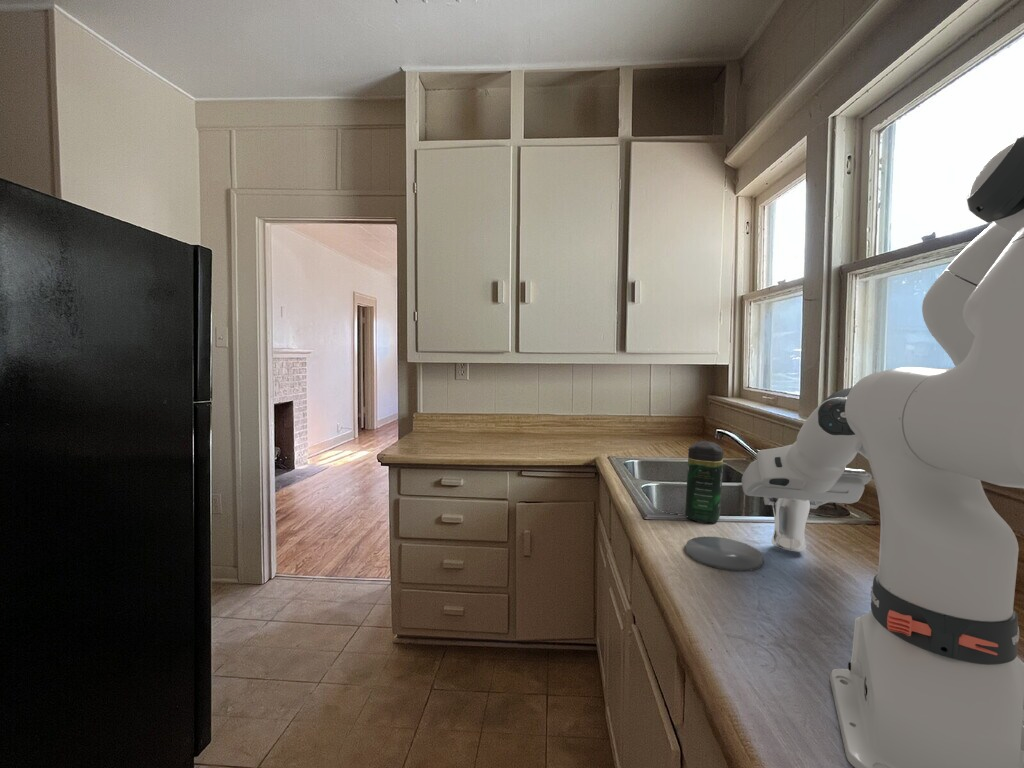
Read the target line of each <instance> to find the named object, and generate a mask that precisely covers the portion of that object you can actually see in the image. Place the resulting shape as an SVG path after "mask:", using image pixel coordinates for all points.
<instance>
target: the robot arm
mask: <svg viewBox="0 0 1024 768" xmlns="http://www.w3.org/2000/svg"><path fill="white" fill-rule="evenodd" d="M965 201H966V204H967V209H968V210H969V212H971V213H972V215H974V216H976V217H978V218H979V219H980V220H982V221H985V222H986V223H987V224H989V225H988V226H987V228H985V229H984V230H983V231H981V232H980V233H979V234H978V235H977V236H976V237H974V238H973V240H972V241H970V243H968V245H966V246H965V248H963V250H962V251H961V252H960V253H959V254H958V255H956V257H955V258H954V259H953V260H952V261H951V262H950V263H949V265H947V267H946V268H945V269H944V270H943V271H942V273H940V275H939V276H938V277H937V278H936V280H935V281H934V282H933V283H932V285H931V286H930V288H929V289H928V291H927V293H926V294H925V296H924V298H923V300H922V306H921V312H922V318H923V321H924V323H925V326H926V328H927V329H928V331H929V333H930V334H931V336H932V337H933V338H934V339H935V341H936V342H937V343H938V344H939V345H940V347H941V348H942V349H943V350H944V351H945V353H946V354H947V355H948V356H949V358H950V359H951V361H952V363H953V364H954V367H953V368H951V367H949V368H948V367H947V368H946V367H929V366H926V367H925V366H903V367H896V368H891V369H885V370H882V371H879V372H877V371H876V372H873V373H870V374H869V375H866V376H864V377H863V378H861V379H860V380H858V381H857V382H856V383H855V384H854V385H853V387H849V388H843V389H840V390H837V391H836V392H834V393H832V394H831V395H829V396H828V397H827V398H825V399H824V400H822V402H821V403H820V404H819V405H818V406H816V408H814V410H813V411H812V412H811V413H810V415H809V416H808V417H807V418H806V420H805V422H803V424H802V426H801V428H800V429H799V431H798V433H797V436H796V440H795V442H793V443H792V444H787V445H785V446H781V447H780V446H779V447H774V448H767V449H760V450H758V451H757V453H756V459H755V460H753V461H751V462H750V463H749V465H748V466H747V467H746V469H745V471H744V472H743V474H742V477H741V486H742V488H741V489H742V491H743V493H744V494H745V495H746V496H749V497H761V498H762V497H763V502H764V505H765V506H773V504H774V503H775V500H774V498H785V499H797V500H810V501H811V505H810V509H812V510H813V509H814V510H816V509H818V508H819V507H820V506H822V505H825V504H828V503H837V504H849V505H850V504H854V503H857V502H859V500H861V497H862V495H863V494H864V492H865V491H864V490H865V486H866V485H867V484H868V483H870V481H871V480H872V478H873V482H874V484H875V489H876V493H877V499H878V505H879V513H880V533H879V536H880V537H879V553H878V555H879V558H878V573H877V574H875V576H874V577H873V578H872V580H873V581H872V585H871V588H870V597H871V599H870V609H871V610H869V612H866V613H865V614H863V615H859V616H858V617H856V618H855V619H854V628H853V639H852V650H851V660H849V662H848V663H847V668H834V669H832V670H831V671H830V677H829V680H830V685H831V686H830V687H831V690H832V696H833V700H834V705H835V709H836V714H837V719H838V724H839V728H840V734H841V738H842V742H843V748H844V753H845V756H846V758H847V759H846V760H847V761H848V762H849V763H850V764H851V765H852V766H853V767H854V768H1024V662H1023V660H1021V658H1019V657H1018V642H1019V639H1020V627H1019V616H1018V613H1017V612H1016V611H1015V609H1014V604H1015V603H1014V602H1015V590H1016V581H1017V571H1018V559H1019V552H1020V551H1019V543H1018V540H1017V537H1016V535H1015V533H1014V531H1013V529H1012V528H1011V526H1010V525H1009V524H1008V523H1007V522H1006V520H1005V519H1003V517H1001V515H1000V514H999V513H998V512H997V511H996V510H995V509H994V507H993V505H992V504H991V502H990V501H989V499H988V497H987V495H986V493H985V489H984V487H983V484H982V482H986V483H989V484H991V485H996V486H999V487H1007V488H1016V489H1024V135H1021V136H1019V137H1016V138H1014V139H1012V141H1011V142H1009V144H1007V145H1005V146H1004V147H1002V148H1000V149H999V150H997V151H996V152H995V153H994V154H993V155H992V156H990V157H989V158H988V159H987V160H986V161H985V162H984V163H983V164H982V166H981V167H980V168H979V169H978V171H977V173H976V174H975V176H974V178H973V179H972V181H971V184H970V188H969V193H968V194H967V195H966V198H965ZM858 453H859V454H860V455H861V456H862V457H864V458H865V459H866V460H868V463H869V467H870V470H871V472H867V471H866V470H865V469H858V468H850V467H847V465H848V464H850V463H851V462H852V461H853V460H854V459H855V457H856V456H857V454H858ZM981 481H982V482H981Z"/></svg>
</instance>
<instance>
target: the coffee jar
mask: <svg viewBox="0 0 1024 768" xmlns="http://www.w3.org/2000/svg"><path fill="white" fill-rule="evenodd" d="M687 451H688V453H687V454H688V455H687V471H686V472H687V475H686V493H685V494H686V497H685V507H684V508H685V511H684V512H685V517H686V516H688V517H686V518H687V519H691V520H693V521H695V522H697V523H702V524H703V523H704V524H705V523H712V524H713V523H717V522H718V520H719V519H720V518H721V517H720V516H721V504H722V503H721V501H722V500H721V499H722V487H723V486H722V485H723V471H724V469H723V468H724V465H723V464H724V449H723V446H721V445H719V444H717V442H714V441H708V440H699V441H697V442H694V443H692V444H691V445H690V446H689V447H688V449H687Z"/></svg>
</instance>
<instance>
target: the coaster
mask: <svg viewBox="0 0 1024 768" xmlns="http://www.w3.org/2000/svg"><path fill="white" fill-rule="evenodd" d="M685 553H686V554H687V556H689V557H690V558H691V559H692V560H694V561H696V562H698V563H700V564H702V565H705V566H708V567H711V568H714V569H719V570H724V571H731V572H749V571H755V570H758V569H760V567H762V565H763V561H764V559H763V554H762V552H760V551H759V550H758V549H756V548H755V547H754V546H751V545H749V544H747V543H744V542H742V541H739V540H735V539H732V538H725V537H719V536H697V537H694V538H690V539H689V540H687V541H686V543H685Z"/></svg>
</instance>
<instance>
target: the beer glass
mask: <svg viewBox="0 0 1024 768" xmlns="http://www.w3.org/2000/svg"><path fill="white" fill-rule="evenodd" d="M774 500H775V503H774V504H773V505H772V510H773V511H772V512H773V517H774V520H773V521H774V529H773V533H772V534H773V535H772V537H771V544H772V545H773V546H775V547H777V548H779V549H781V550H785V551H790V552H803V551H804V552H805V550H806V549H807V546H806V538H805V531H806V524H807V520H808V516H809V513H810V510H811V508H810V505H811V501H810V500H797V499H785V498H774Z"/></svg>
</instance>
